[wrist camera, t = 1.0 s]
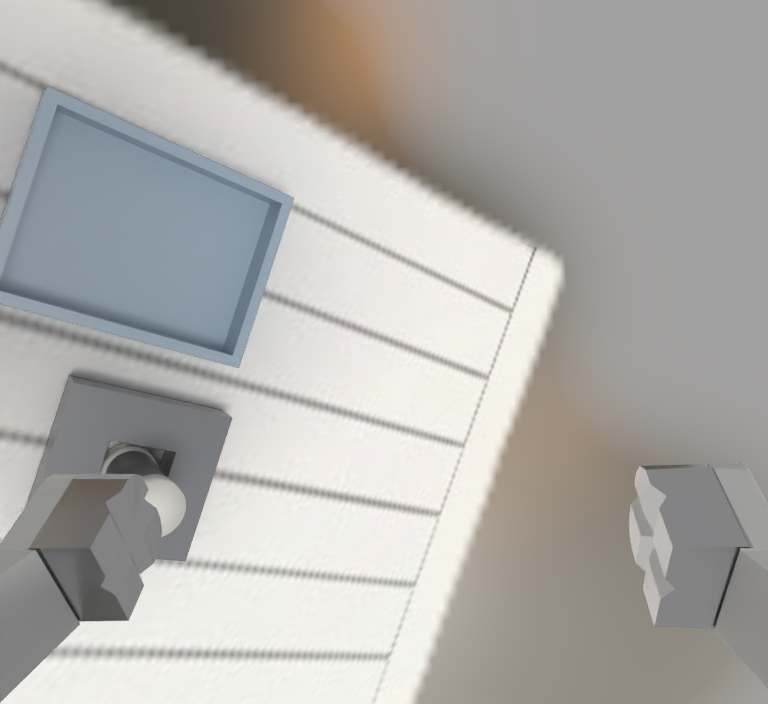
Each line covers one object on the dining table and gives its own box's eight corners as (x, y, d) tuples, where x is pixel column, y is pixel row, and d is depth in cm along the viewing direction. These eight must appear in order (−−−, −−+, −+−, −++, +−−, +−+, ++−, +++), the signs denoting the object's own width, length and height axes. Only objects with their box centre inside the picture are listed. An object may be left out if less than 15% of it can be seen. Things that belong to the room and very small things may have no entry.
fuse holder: (17, 533, 48) (20, 547, 46) (68, 375, 48) (74, 382, 46) (176, 548, 55) (185, 561, 52) (221, 410, 55) (232, 417, 53)
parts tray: (-24, 293, 44) (-22, 298, 41) (42, 93, 44) (48, 86, 41) (225, 361, 54) (238, 368, 52) (278, 198, 54) (294, 198, 52)
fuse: (91, 488, 50) (115, 536, 43) (108, 438, 50) (135, 477, 43) (143, 495, 52) (175, 542, 45) (159, 447, 52) (193, 486, 45)
